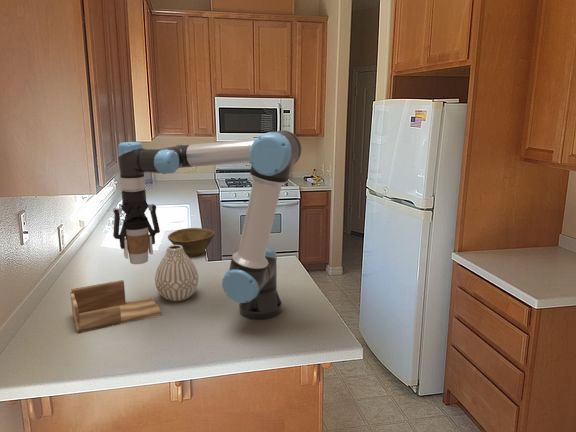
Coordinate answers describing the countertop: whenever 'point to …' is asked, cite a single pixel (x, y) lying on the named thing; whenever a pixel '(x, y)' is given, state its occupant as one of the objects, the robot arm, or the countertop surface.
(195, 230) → the bowl
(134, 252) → the coffee cup
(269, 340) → the countertop surface
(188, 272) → the vase
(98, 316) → the shelf
